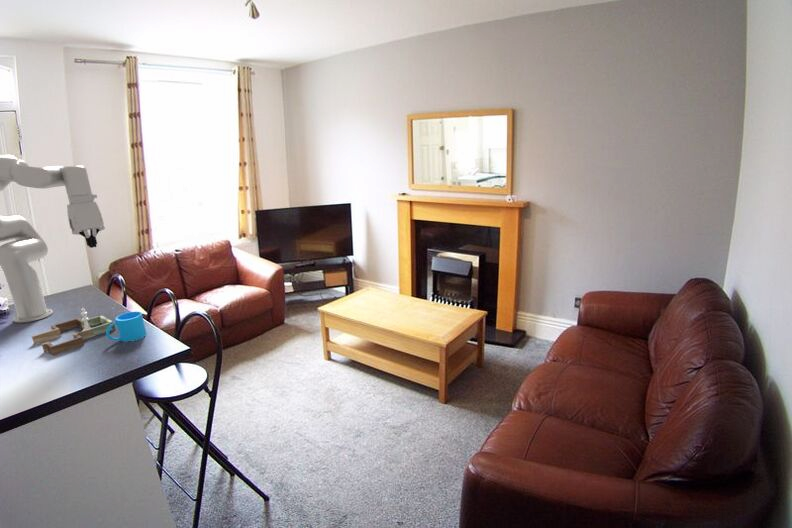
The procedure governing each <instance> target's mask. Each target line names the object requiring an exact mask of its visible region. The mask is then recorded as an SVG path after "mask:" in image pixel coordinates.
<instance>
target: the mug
mask: <svg viewBox="0 0 792 528" xmlns="http://www.w3.org/2000/svg"><path fill="white" fill-rule="evenodd" d="M113 322H114V323H112V324H111V325H110V326H109V327H108V328H107V330H106V333H105V335H106V338H108V339H109V340H111V341H121V342H122V341H132V340H136V339H139V340H141V339H143V338H145V337H146V336H145V335H147V331H146V327H145V322H144V318H143V313H142V312H141V311H129V312H124V313H122V314H119V315H118V316H115V321H113ZM114 325H115V326H116V328H117V331H118V335H119V337H113V336H112V335H110V332H111V331H110V329H111V328H112V326H114ZM144 336H145V337H144ZM142 337H143V338H142ZM140 338H141V339H140ZM136 341H137V340H136ZM132 342H133V341H132Z"/></svg>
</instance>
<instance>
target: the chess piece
mask: <svg viewBox="0 0 792 528" xmlns="http://www.w3.org/2000/svg"><path fill="white" fill-rule="evenodd" d="M80 311H81V313H80V316H81V317H82V318H81V319H82V320H83V321H84V329H83V330H82V331H84V330H87V329H90V328H91V327H89V324H88V321H87V320H88V319H90V318H89V317H88V311H86V309H85V307H82V308H81V309H80Z"/></svg>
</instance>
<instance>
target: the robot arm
mask: <svg viewBox="0 0 792 528" xmlns="http://www.w3.org/2000/svg"><path fill="white" fill-rule="evenodd" d="M12 182H14V183H16V184H17V185H19V186H22V187H26V188H34V189H50V188H51V189H52V188H57V187H58V188H59V187H65V191H66V195H67V199H68V202H69V203H68V204H67V205H66V209H67V210H66V212H67V218H68V219H67V221H68V225H69V228H70V230H71V233H72V235H80V236H82V237H84V239H85V244H86V246H88V248H91V249H93V248H96V247H97V245H98V242H97V235H98V234H99V233H100V232H101V231H103V230H105V229H106V227H105V225H104V219H103V216H102V213H101V211H100V207H99V205H98V203H97V201H95V199H97V198H98V195H97V194H93V193H92V188H91V185H90V184H91V183H90V179H89V176H88V172H87V168H86V166H84V165H81V164H80V165H78V164H77V165H48V166H29V164H28V163H27V162H26V161H25V160H24V159H20V158H17V157H16V156H14V155H12V154H7V153H0V192H1V191H3V190H5V188H7V187H8V186H9V185H10V184H11V183H12ZM88 230H89V231H88ZM89 233H90V234H89ZM11 240H13V241H11ZM7 241H10V242H7ZM3 242H6V243H3ZM0 243H3V244H2V245H0V268H1V269H2V271H3V272H2V273H3V275H4V277H5V279H6V282H7V286H8V288H9V292H10V295H11V298H12V301H13V302H12V303H13V305H14V308H15V311H16V314H17V315H15V316H14V317H13V322H15V323H18V324H20V323H21V324H23V323H31V322H35V321H39V320H42V319H45V318H47V317H49V316H51V315H52V314H53V313H54V311H53V309H51V308H47V305H46V301H45V297H44V294H43V290H42V286H41V283H40V280H39V277H38V274H37V271H36V270H35V269H34V268H33V267H32V266H31V265H30V263H31V262H32V263H33V262H34V261H37V260H40V259H43V258H45V257H46V256H47V254H48V251H49V248H48V246H47V244H46V242H45V240H44V239H43V238H42V236H41V235H40V234H39V233H38V232H37V230H36V229H35V228H34V227H33V225H32V224H31V223H30V222H29V221H28V219H26V218H25V217H23V216H21V215H19V214H8V215H0Z"/></svg>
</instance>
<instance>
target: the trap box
mask: <svg viewBox="0 0 792 528" xmlns="http://www.w3.org/2000/svg"><path fill="white" fill-rule="evenodd" d="M82 319H83V318H80V317H76V318H72V319H69V320H66V321H63V322H59V323H57V324H53V325H50V327H51V328H50V329H51V330H47V331H43V332H41V333H38V334H34V335H32V336H31V338H32V342H33V344H34V345H38V344H41V346H42V350H43V353H44V354H46V353H47V352H48V353H50V355H52V356H57V355H59V354H62V353H64V352H65V353H66V352H67V351H70V350H73V349H77V348H79V347H82V346H85V344H84V340H87V339H91V338H93V336H94V337H96V335H97V336H100V335H103V334H106V333H105V332H106V330H107V328H108V327H109V326H110V325H111V324H112V323H114V322H115V321H113V320H111V319H109V318H107V317H106V316H104V315H102V314H100V315H97V316H93V317H91V318H89V319H88V320H87V321H88V324H89V327H90V329H87V330H84V321H83V320H82ZM100 323H102V324H100ZM97 324H98V325H97ZM93 325H95V327H94V326H93ZM77 326H78V327H79V328H80V329H82V328H83V330H84V331H83V330H82V331H79V332H74V333H72V339H69V340H66V341H63V342H61V343H57V344H55V345H54V344H52V342H50V340H53V339H57V338H60V337H62V332H64V331H68V330H71V329H74V327H75V328H78V327H77ZM91 326H92V327H91ZM114 329H115V330H116V324H115V325H114V326H112V328H111V329H110V330H112V331H115V330H114ZM102 333H103V334H102ZM99 334H100V335H99Z"/></svg>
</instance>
